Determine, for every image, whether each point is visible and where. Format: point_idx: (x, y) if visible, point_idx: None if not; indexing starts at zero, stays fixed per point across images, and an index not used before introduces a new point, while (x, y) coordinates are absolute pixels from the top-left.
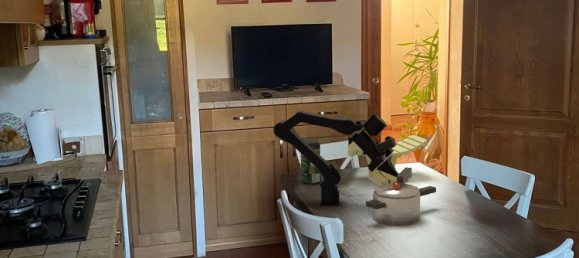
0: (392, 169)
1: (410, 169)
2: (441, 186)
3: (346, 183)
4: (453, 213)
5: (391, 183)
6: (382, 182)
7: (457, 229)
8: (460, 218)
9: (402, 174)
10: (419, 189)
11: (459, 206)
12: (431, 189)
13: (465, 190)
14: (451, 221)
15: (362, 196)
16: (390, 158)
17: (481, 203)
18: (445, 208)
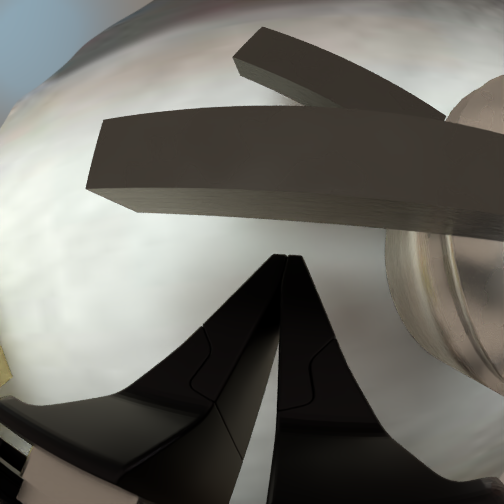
0: (329, 334)
1: (166, 112)
2: (11, 157)
3: None
4: (329, 38)
5: (473, 300)
6: (2, 369)
7: (490, 42)
8: (380, 22)
9: (475, 158)
10: (349, 95)
11: (227, 35)
12: (300, 43)
13: (51, 81)
14: (429, 45)
15: None
16: (145, 445)
17: (181, 3)
18: None
